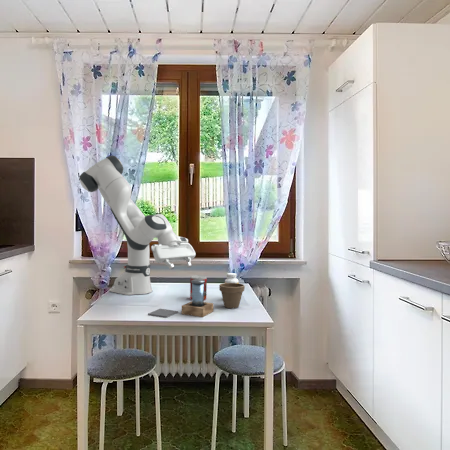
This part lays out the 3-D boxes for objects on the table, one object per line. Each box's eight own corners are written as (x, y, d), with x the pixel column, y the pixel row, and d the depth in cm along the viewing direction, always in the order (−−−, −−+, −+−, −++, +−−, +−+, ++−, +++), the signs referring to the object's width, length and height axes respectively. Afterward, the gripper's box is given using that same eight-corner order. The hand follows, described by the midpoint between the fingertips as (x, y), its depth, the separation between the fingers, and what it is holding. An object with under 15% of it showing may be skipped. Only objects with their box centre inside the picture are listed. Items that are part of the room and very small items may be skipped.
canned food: (204, 301, 189) (204, 278, 189) (188, 300, 191) (188, 277, 190) (208, 297, 197) (208, 275, 196) (192, 296, 198) (192, 274, 198)
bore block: (181, 314, 167) (181, 305, 166) (192, 308, 176) (192, 300, 176) (202, 317, 163) (203, 308, 163) (213, 311, 172) (213, 303, 172)
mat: (148, 314, 164) (148, 313, 164) (160, 309, 173) (160, 308, 173) (166, 317, 161) (166, 316, 161) (178, 312, 169) (178, 311, 169)
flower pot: (228, 302, 188) (228, 281, 188) (248, 306, 182) (249, 284, 181) (213, 307, 179) (214, 285, 178) (234, 311, 172) (235, 288, 172)
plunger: (188, 313, 168) (188, 281, 167) (194, 310, 173) (195, 278, 172) (200, 315, 165) (201, 282, 165) (206, 311, 171) (207, 280, 170)
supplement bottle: (238, 298, 197) (238, 272, 196) (238, 301, 190) (238, 275, 189) (224, 298, 197) (225, 272, 196) (224, 301, 190) (224, 274, 190)
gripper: (152, 240, 176) (163, 265, 169) (190, 238, 189) (202, 261, 182) (147, 249, 180) (158, 274, 173) (184, 246, 193) (196, 269, 186)
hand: (181, 267), depth 177 cm, fingers open, 8 cm apart
